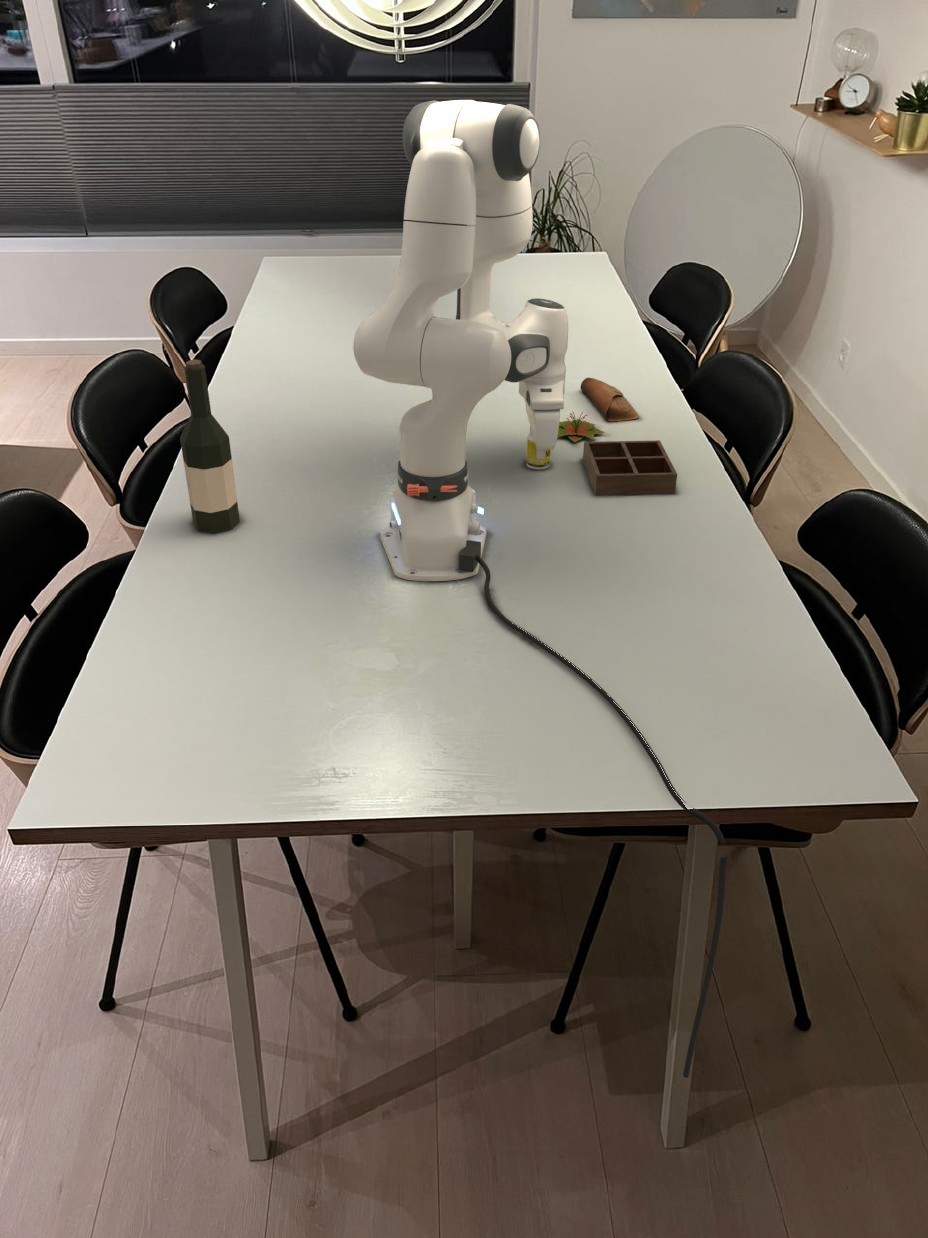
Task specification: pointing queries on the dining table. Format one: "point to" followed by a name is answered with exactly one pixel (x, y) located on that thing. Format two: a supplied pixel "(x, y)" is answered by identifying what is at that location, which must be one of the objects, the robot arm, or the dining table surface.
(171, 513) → the dining table surface
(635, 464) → the wooden compartment tray
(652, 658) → the dining table surface
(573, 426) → the lily flower
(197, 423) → the wine bottle
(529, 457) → the supplement bottle
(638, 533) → the dining table surface
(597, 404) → the sunglasses case
